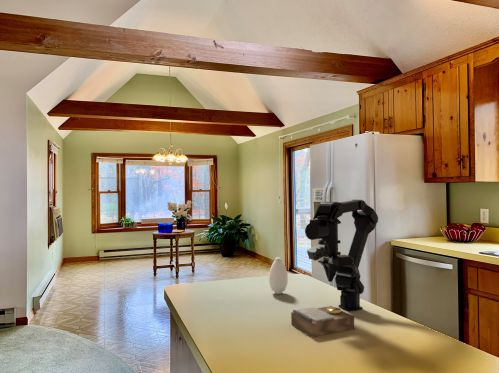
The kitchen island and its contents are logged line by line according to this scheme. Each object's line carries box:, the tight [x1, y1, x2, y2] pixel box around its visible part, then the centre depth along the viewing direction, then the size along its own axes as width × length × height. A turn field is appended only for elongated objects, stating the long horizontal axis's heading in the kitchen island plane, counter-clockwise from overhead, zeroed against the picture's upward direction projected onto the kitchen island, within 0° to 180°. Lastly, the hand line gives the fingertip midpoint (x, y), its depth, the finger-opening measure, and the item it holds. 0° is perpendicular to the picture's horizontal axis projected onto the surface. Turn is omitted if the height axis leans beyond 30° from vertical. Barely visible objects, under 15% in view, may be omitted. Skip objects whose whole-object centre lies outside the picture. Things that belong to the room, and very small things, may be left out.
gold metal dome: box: [327, 306, 342, 315], centre depth 124 cm, size 5×5×5 cm
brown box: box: [290, 305, 355, 338], centre depth 122 cm, size 16×12×5 cm
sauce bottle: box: [268, 252, 289, 295], centre depth 162 cm, size 8×8×18 cm
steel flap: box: [296, 306, 334, 322], centre depth 121 cm, size 7×11×1 cm, turn 24°
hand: (330, 281), depth 133 cm, fingers closed
